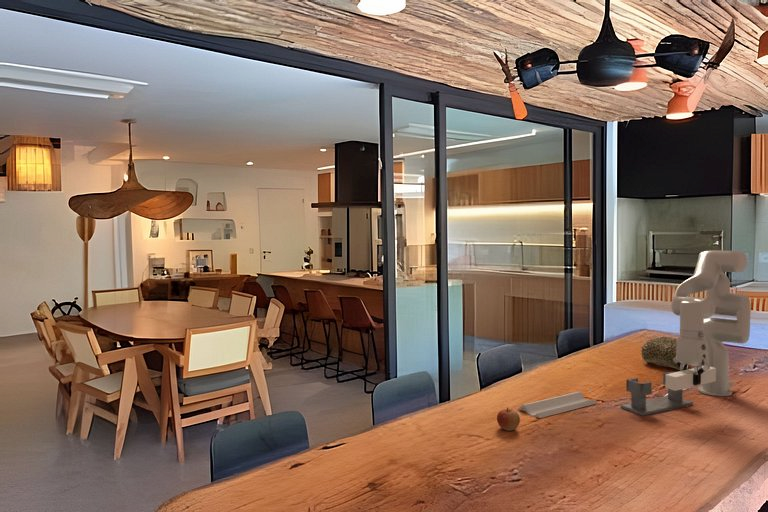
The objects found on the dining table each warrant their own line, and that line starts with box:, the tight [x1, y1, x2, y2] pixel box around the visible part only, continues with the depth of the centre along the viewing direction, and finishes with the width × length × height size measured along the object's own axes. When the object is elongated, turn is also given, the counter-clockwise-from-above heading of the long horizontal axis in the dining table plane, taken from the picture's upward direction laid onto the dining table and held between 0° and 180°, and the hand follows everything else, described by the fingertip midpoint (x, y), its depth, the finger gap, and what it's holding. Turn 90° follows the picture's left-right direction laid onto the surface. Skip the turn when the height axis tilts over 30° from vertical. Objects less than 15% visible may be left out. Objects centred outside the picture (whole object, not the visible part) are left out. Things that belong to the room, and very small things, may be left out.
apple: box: [496, 407, 521, 432], centre depth 194 cm, size 8×8×8 cm
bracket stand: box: [620, 371, 694, 417], centre depth 216 cm, size 28×10×12 cm, turn 114°
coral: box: [640, 335, 691, 371], centre depth 278 cm, size 23×18×15 cm
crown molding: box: [517, 391, 597, 419], centre depth 218 cm, size 31×12×4 cm, turn 120°
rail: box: [664, 366, 716, 391], centre depth 204 cm, size 22×4×5 cm, turn 115°
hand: (690, 382), depth 204 cm, fingers closed on rail, 4 cm apart
